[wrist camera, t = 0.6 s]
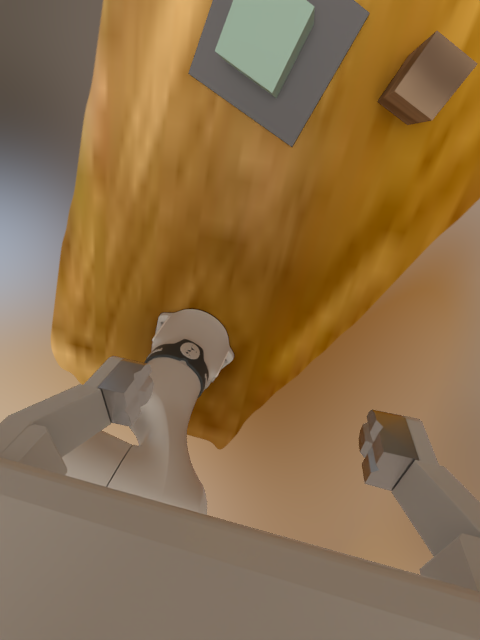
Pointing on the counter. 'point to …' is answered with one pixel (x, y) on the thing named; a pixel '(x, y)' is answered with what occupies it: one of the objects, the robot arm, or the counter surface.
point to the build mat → (302, 81)
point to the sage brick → (265, 39)
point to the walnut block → (427, 80)
